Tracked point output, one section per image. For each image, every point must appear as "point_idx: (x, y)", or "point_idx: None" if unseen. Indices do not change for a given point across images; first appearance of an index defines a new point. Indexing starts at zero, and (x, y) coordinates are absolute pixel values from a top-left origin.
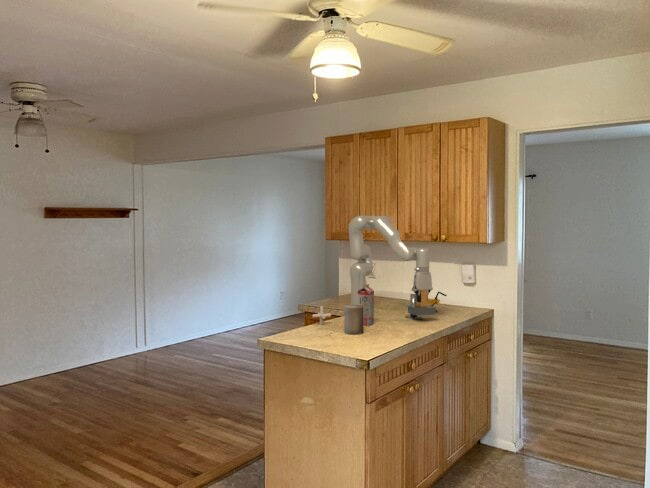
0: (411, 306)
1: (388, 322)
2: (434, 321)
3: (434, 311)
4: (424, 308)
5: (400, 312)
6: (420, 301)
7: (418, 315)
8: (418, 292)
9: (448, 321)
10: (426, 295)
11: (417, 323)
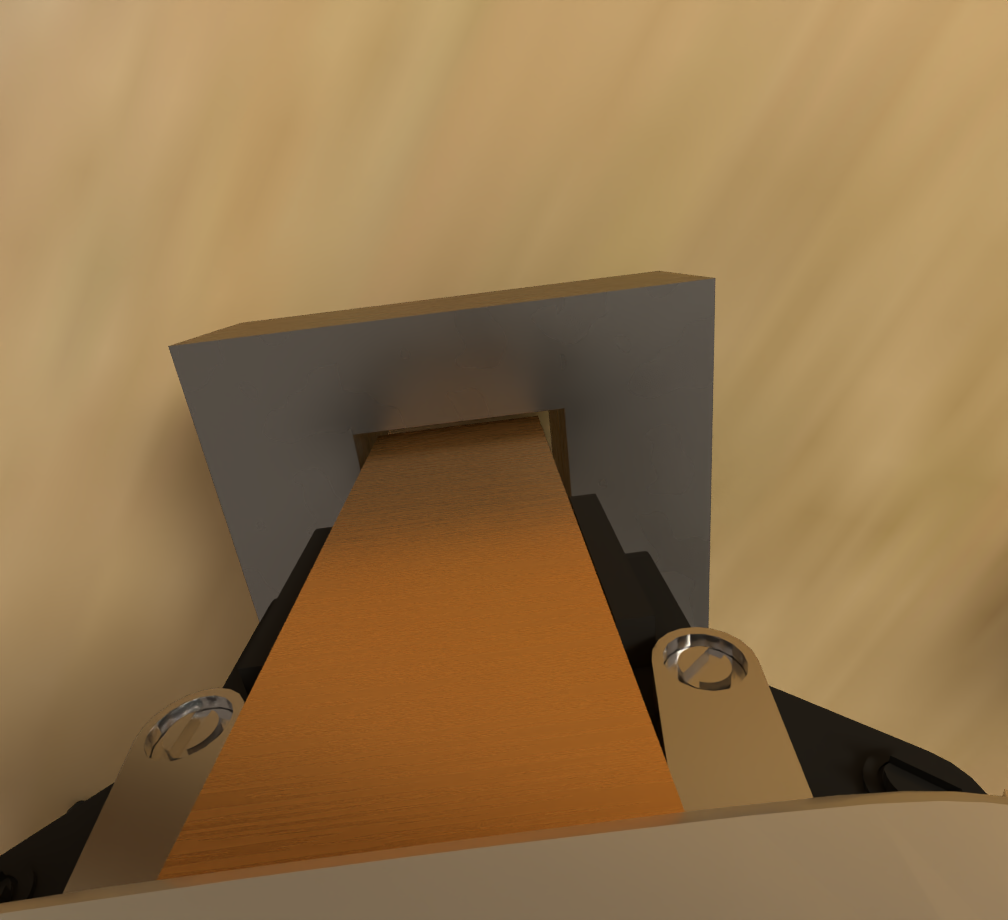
0: (688, 569)
1: (1000, 403)
2: (305, 303)
3: (245, 326)
4: (518, 300)
5: None
6: (575, 500)
7: (646, 273)
8: (785, 736)
9: (59, 241)
10: (322, 619)
11: (654, 221)
